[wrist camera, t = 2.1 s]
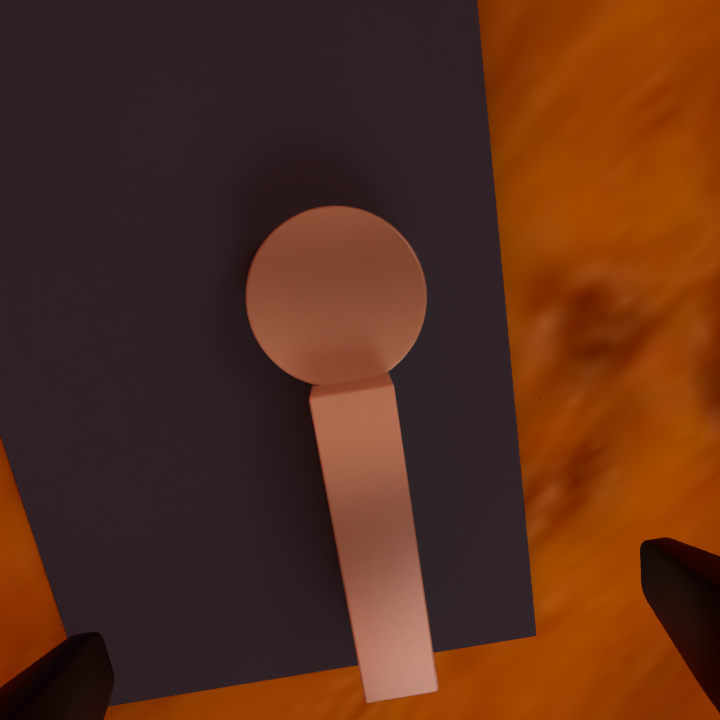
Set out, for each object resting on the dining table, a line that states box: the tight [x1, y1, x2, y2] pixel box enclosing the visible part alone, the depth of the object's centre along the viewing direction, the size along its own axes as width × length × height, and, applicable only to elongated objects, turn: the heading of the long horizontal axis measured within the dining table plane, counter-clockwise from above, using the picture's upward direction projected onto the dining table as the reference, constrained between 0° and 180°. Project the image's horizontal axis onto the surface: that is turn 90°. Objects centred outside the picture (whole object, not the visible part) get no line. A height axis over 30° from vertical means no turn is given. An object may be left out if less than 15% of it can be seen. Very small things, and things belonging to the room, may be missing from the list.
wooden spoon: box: [245, 205, 439, 703], centre depth 14 cm, size 14×5×3 cm, turn 9°
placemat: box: [0, 0, 536, 706], centre depth 15 cm, size 22×16×1 cm
